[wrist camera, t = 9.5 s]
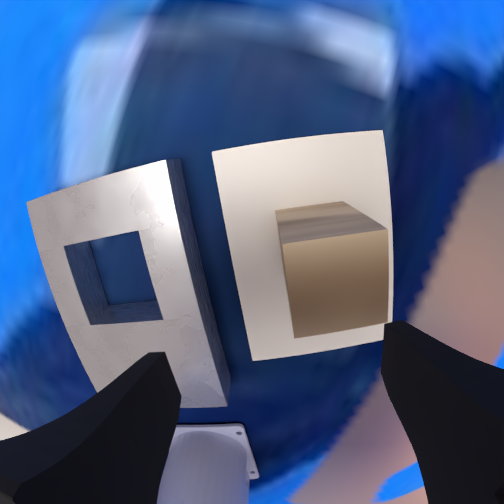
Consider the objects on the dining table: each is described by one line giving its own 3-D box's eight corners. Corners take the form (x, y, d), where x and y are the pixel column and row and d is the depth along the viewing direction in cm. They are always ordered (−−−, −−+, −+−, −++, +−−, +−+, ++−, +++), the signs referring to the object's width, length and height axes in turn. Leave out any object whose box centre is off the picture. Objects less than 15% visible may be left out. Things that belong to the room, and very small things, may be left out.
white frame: (231, 379, 22) (227, 406, 19) (117, 382, 23) (104, 405, 20) (180, 158, 18) (165, 159, 15) (52, 194, 18) (26, 202, 16)
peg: (347, 265, 19) (387, 322, 12) (283, 275, 19) (294, 338, 12) (343, 201, 17) (387, 228, 11) (275, 210, 18) (282, 244, 11)
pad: (388, 333, 21) (391, 337, 20) (252, 356, 22) (252, 361, 21) (379, 130, 17) (382, 130, 16) (213, 152, 17) (211, 151, 17)
